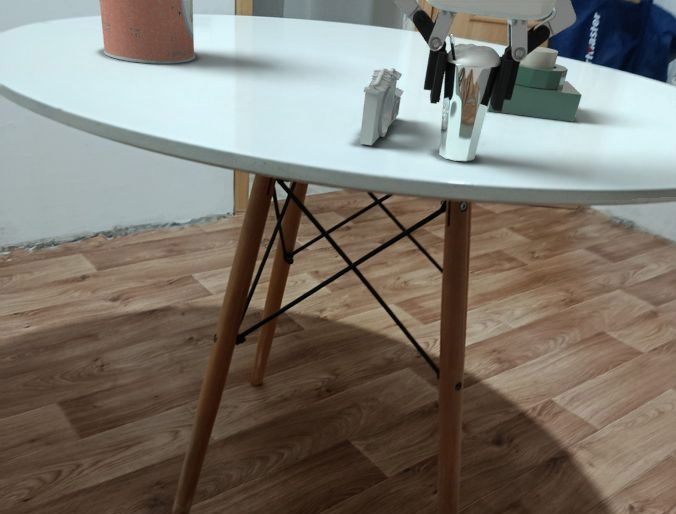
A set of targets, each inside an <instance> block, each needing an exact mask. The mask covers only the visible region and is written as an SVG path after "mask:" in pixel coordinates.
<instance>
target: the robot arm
mask: <svg viewBox="0 0 676 514" xmlns="http://www.w3.org/2000/svg"><path fill="white" fill-rule="evenodd" d="M425 1H426V3H427V4H429V5H430V6H431V7H433V8H435V9H437V10H438V11H437V13H436V16H435V18H434V20H432V18H431V17H430V15H429V14H428V12H427V10H426V9H424V8H423V6H422V5H420V3H419V2H418V0H393V2H394V4H395V5H396V7H398V8H399V9H400V10H401V12H402V13H403V14H404V15H405V16H406V17H407V18H408V19H409V20H410V21H411V22H412V24H413V25H414V26H415V28H416V29H417V31H418V32H419V34H420V36H421V37H422V38H423V40H424V41H425V43H426V44H427V46H428V48H429V52H428V59H427V64H426V71H425V76H424V82H423V91H430V93H429V101H430V104H433V105H434V104H435V105H436V104H438V103H440V101H441V96H442V95H441V94H442V91H443V85H444V77H445V67H446V62H447V56H448V54H447V53H448V50H447V41H446V40H447V37H448V36H449V35H448V34H449V32H450V30H451V28H452V25H453V22H454V21H455V18H456V15H457V13H459V14H468V15H475V16H484V17H491V18H500V19H507V46H506V47H505V48H504V52H503V54H502V55H501V56H500V55H499V56H500V58H501V64H500V67H499V70H498V74H497V77H496V81H495V84H494V88H493V91H492V95H491V98H490V104H491V107H492V109H494V111H497V112H496V113H500V112H501V111H502V107H503V103H504V100H511V98H512V94H513V90H514V86H515V82H516V78H517V73H518V69H519V65H520V61H522V60H524V59H525V58H526V56H527V55H528V54H529V53H531V52H532V51H533V50H535V49H536V48H537V47H541V45H543V44H544V43H545V42H547V41H548V40H549V39H550V38H553V36H556V35H558V34H559V33H562V32H563V31H564V30H567V28H571V26H573V25H574V24H575V23H576V22H577V15H576V12H575V9H574V7H573V4H572V0H425ZM548 16H549V17H548ZM543 19H545V20H543ZM539 20H543V21H541V22H539V23H536V24H535V25H533V26H532V27H531V28H529V29H528V25H529V24H528V23H529V21H539Z"/></svg>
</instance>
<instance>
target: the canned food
mask: <svg viewBox="0 0 676 514" xmlns="http://www.w3.org/2000/svg"><path fill="white" fill-rule="evenodd" d="M193 3H194V2H193V0H99V8H100V9H99V10H100V18H101V19H100V20H101V29H102V40H103V48H104V49H103V53H104V54H105V55H106V56H107V57H110V58H111V59H112V58H113V59H116V60H120V61H126V62H131V63H139V64H140V63H141V64H157V65H171V64H182V63H183V64H184V63H188V62H191V61H193V60H195V59H196V55H195V44H194V43H195V42H194V41H195V39H194V38H195V37H194V7H193V6H194V5H193Z"/></svg>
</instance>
